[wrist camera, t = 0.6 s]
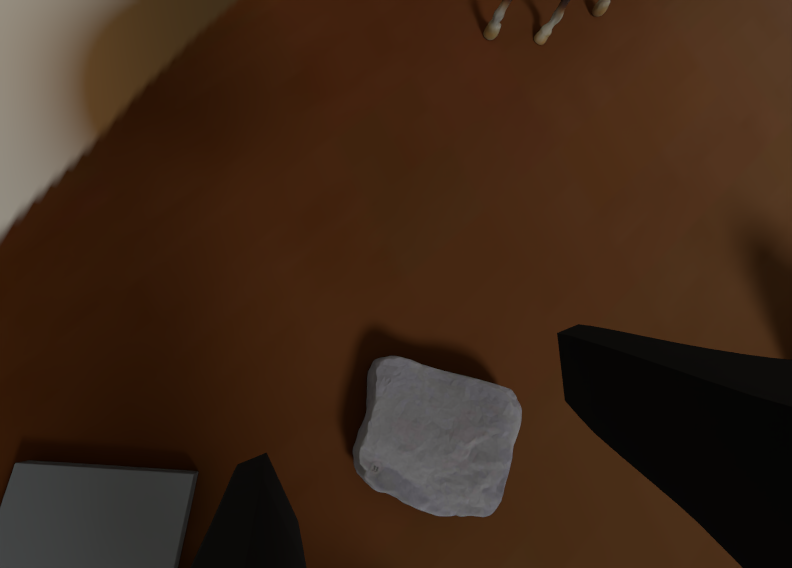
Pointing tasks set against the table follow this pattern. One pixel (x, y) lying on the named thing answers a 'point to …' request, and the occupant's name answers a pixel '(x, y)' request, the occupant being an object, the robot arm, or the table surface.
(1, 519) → the slate tile
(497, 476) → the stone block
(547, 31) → the brown animal figure
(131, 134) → the table surface
